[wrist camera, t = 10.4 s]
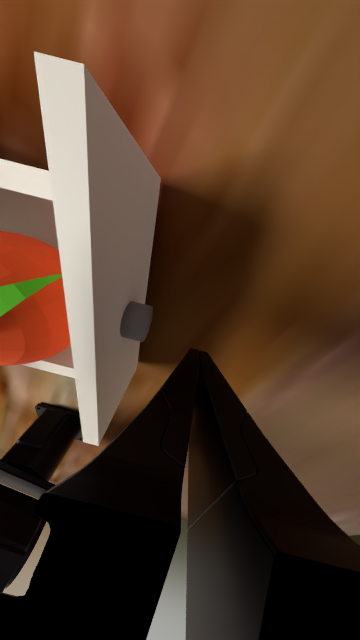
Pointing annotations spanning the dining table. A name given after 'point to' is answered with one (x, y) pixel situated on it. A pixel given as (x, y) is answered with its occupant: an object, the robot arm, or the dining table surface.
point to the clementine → (30, 301)
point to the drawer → (89, 233)
